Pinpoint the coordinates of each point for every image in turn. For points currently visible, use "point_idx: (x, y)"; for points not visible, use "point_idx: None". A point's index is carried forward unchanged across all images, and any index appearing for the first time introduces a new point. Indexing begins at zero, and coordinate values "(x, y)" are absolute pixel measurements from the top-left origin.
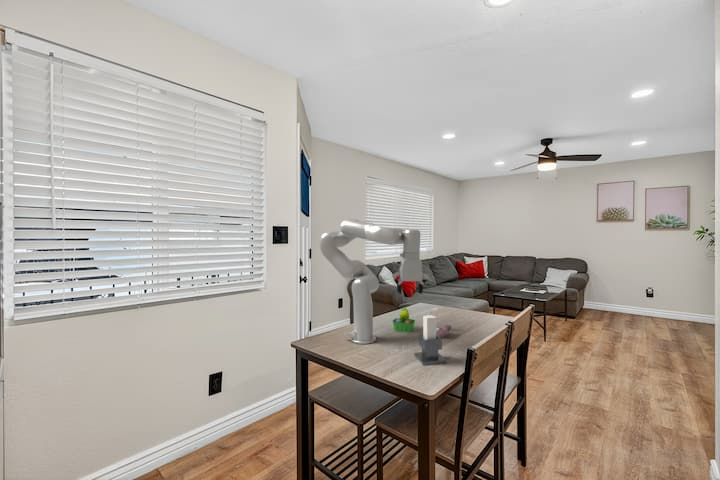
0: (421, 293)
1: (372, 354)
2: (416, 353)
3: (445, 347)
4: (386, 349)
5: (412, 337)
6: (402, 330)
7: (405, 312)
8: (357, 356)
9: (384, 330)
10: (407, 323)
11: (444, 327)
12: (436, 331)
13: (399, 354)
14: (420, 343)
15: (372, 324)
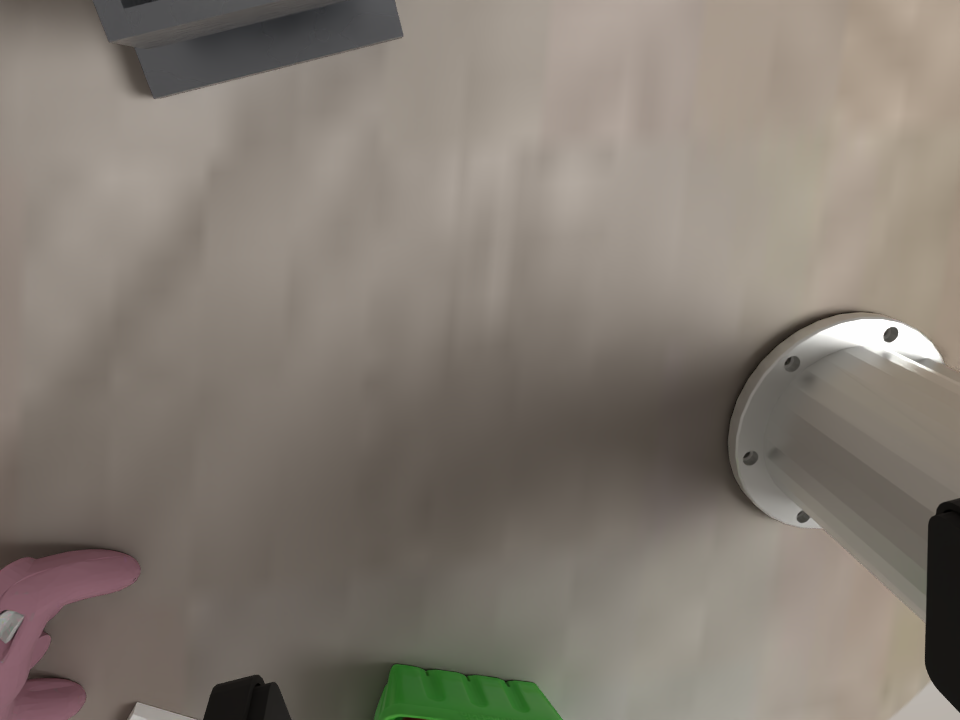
0: (220, 686)
1: (801, 61)
2: (382, 17)
3: (50, 292)
4: (660, 198)
5: (386, 530)
6: (469, 678)
7: None
8: (938, 5)
9: (627, 663)
10: (433, 716)
11: (8, 632)
12: (135, 705)
13: (550, 68)
14: None
15: (854, 482)
